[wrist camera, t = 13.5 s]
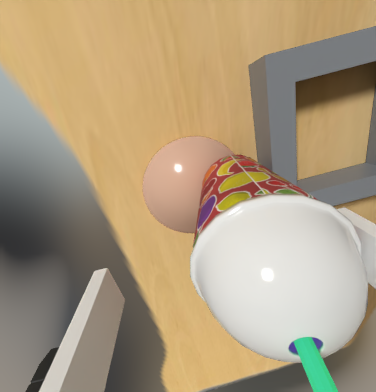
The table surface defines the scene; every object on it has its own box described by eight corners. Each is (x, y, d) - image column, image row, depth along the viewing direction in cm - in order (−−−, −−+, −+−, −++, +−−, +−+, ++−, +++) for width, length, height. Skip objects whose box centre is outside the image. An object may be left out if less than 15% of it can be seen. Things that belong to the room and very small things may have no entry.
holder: (248, 65, 19) (264, 55, 16) (407, 23, 19) (457, 4, 16) (262, 207, 25) (276, 220, 22) (381, 176, 25) (413, 185, 22)
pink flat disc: (128, 151, 21) (127, 152, 21) (235, 123, 21) (237, 123, 21) (160, 240, 26) (160, 242, 25) (248, 217, 26) (249, 219, 25)
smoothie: (275, 202, 23) (553, 543, 5) (207, 221, 25) (229, 533, 6) (260, 133, 20) (841, 348, 2) (185, 159, 22) (108, 414, 3)
